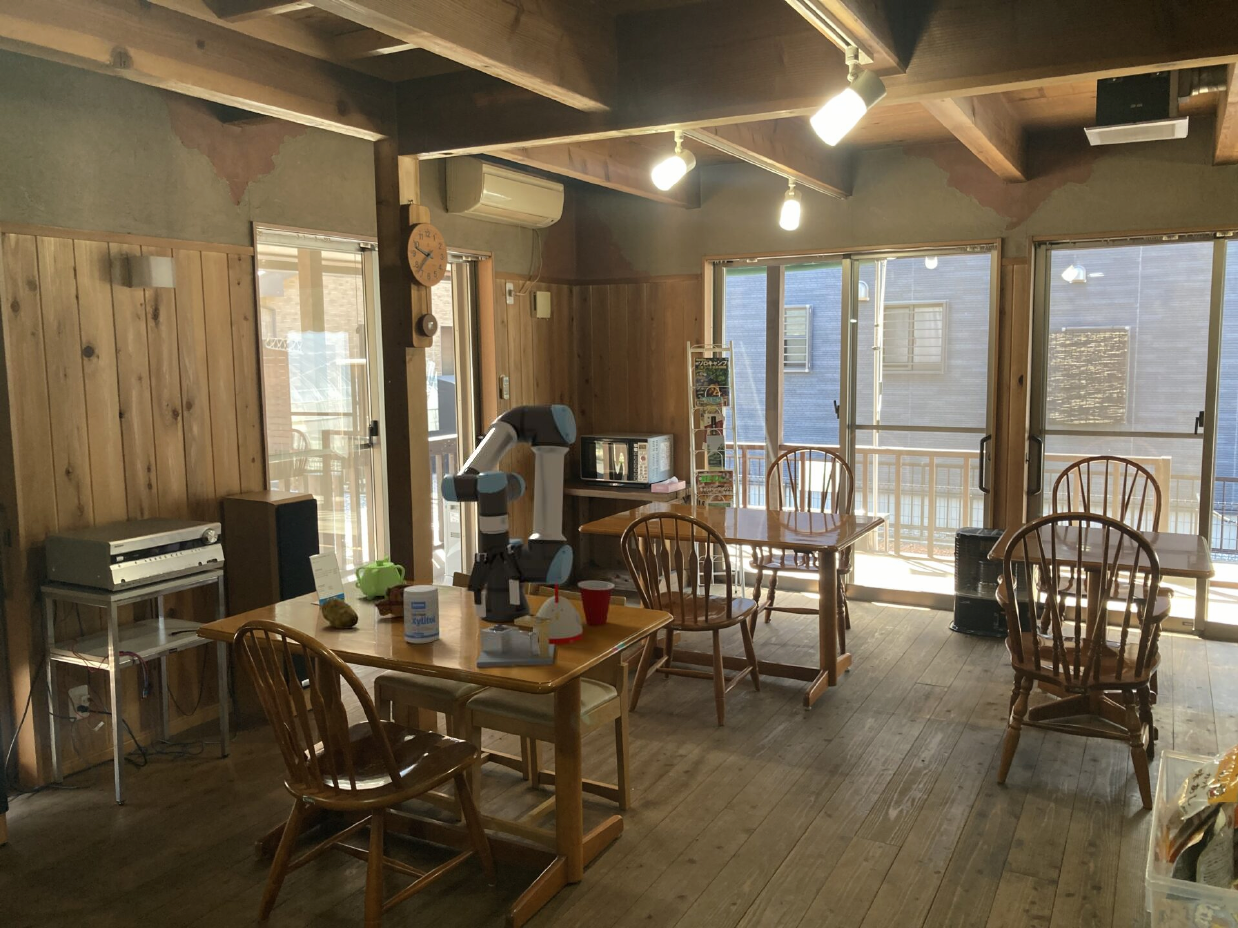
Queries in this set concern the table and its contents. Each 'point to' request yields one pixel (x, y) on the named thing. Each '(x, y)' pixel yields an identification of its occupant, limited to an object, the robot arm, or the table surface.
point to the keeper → (543, 631)
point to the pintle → (498, 627)
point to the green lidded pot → (379, 578)
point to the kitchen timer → (561, 620)
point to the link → (509, 641)
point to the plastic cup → (595, 601)
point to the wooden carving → (393, 601)
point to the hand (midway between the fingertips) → (498, 610)
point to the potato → (339, 613)
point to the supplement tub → (421, 614)
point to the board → (513, 659)
